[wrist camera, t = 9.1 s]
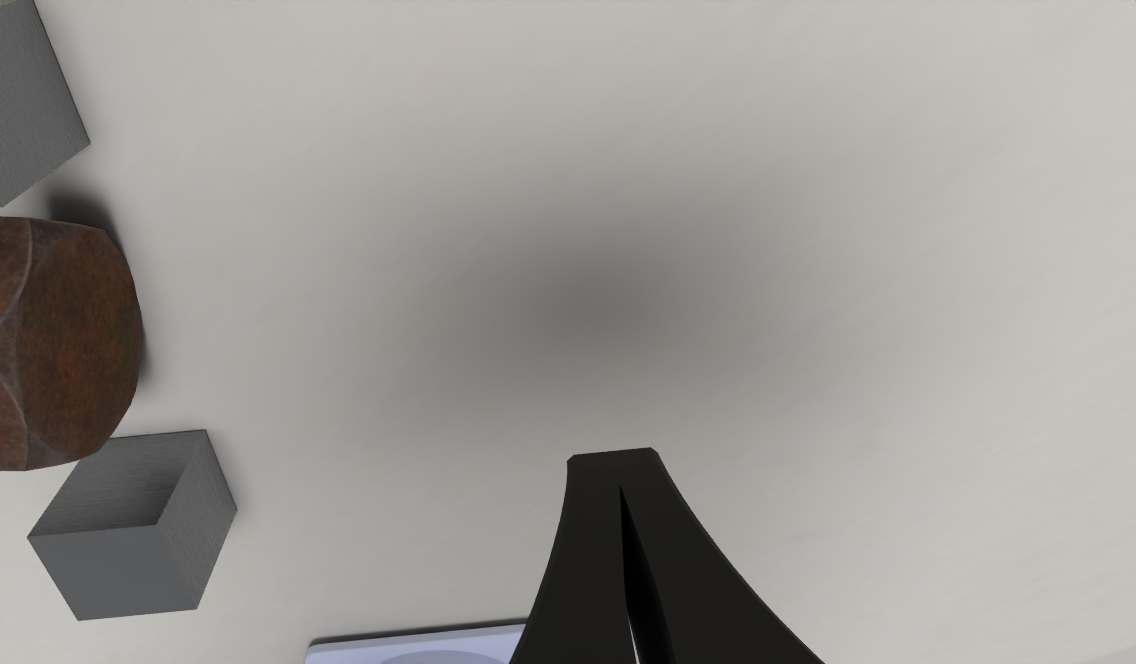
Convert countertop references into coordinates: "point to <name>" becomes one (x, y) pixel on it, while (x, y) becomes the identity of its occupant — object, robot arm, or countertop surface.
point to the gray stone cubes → (123, 465)
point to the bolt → (63, 341)
